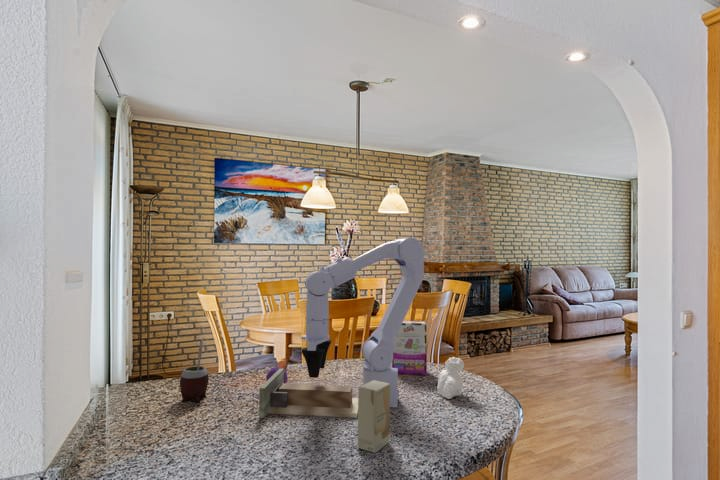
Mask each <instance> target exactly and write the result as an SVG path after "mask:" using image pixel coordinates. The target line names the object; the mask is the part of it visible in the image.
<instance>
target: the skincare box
mask: <svg viewBox="0 0 720 480" xmlns="http://www.w3.org/2000/svg"><path fill="white" fill-rule="evenodd" d="M357 396H358V397H357V398H358V415H357V448H358V449H361V450H363V451H366V452H367V451H368V452H370V453H378V451H380V450H381V449H383V448H384V447H385V446H387V444H389V443H390V425H391V424H390V423H391V422H390V413H391V411H390V409H391V407H390V383H385V382H380V381H376V380H373V381H371V382H369V383H366V384H364V385H363V384H362V385H361V386H359V387H358V395H357Z"/></svg>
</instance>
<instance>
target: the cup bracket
mask: <svg viewBox="0 0 720 480" xmlns="http://www.w3.org/2000/svg"><path fill="white" fill-rule="evenodd" d="M283 383H284V369H279V370H278V371H277V372H276V373H275V374H274V375H272V376H271V377H270V378H269V379H268V380H267V381H265V382H264V383H263V384H262V385H261V386H259V391H258V394H259V400H258V401H259V402H258V408H259V409H258V411H259V412H258V416H259V417H258V418H259V419H265V418H266V417H267V415H268V414H274V415H275V414H276V415H292V416H294V415H295V416H312V415H314V416H313V417H315V416H316V417H334V418H336V417H337V418H352V419H353V418H357V419H358V397H352V404H351V407H350V408H334V407H313V406H293V405H287V392H279V388H280V387H281V386H282V384H283ZM284 384H288V382H286V383H284Z"/></svg>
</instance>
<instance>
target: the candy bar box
mask: <svg viewBox="0 0 720 480" xmlns="http://www.w3.org/2000/svg"><path fill="white" fill-rule="evenodd" d="M427 329H428V328H427V321H417V320H403V322H402V325H401V327H400V329H399V331H398V333H397V335H396V347H395V349H394V352H393V361H392V364H391V367H392V368H398V375H419V376H427V374H428V373H427V372H428V360H427V359H428V358H427V357H428V356H427V354H428V350H427V349H428V346H427V343H428V341H427V336H428V335H427Z"/></svg>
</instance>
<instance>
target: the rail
mask: <svg viewBox="0 0 720 480" xmlns="http://www.w3.org/2000/svg"><path fill="white" fill-rule="evenodd" d="M279 392H287V405H293V406H313V407H334V408H350V407H351V404H352V398H353V386H351V385H350V386H348V385H347V386H346V385H330V384H329V385H326V384H324V385H323V384H302V383H287V384H284V383H283V384H282V386H281V387H280V388H279Z"/></svg>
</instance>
